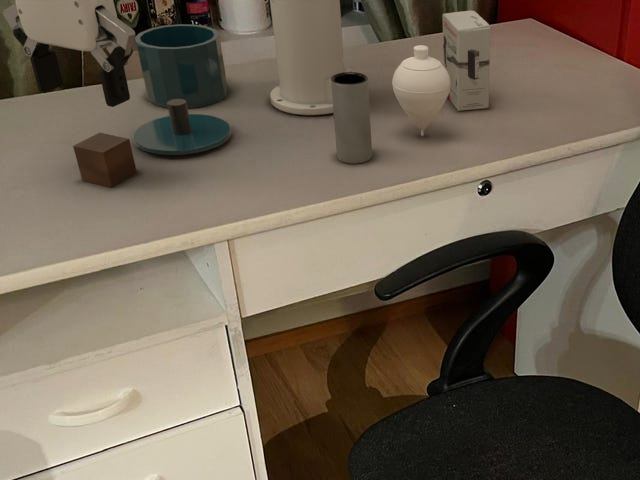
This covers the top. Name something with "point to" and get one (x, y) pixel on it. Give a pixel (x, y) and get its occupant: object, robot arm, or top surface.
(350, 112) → the gray cylinder
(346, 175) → the top surface
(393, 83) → the spinning top
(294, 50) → the robot arm
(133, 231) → the top surface
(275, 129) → the top surface
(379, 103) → the top surface
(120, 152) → the block
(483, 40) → the ink box
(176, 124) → the lid
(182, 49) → the pot
